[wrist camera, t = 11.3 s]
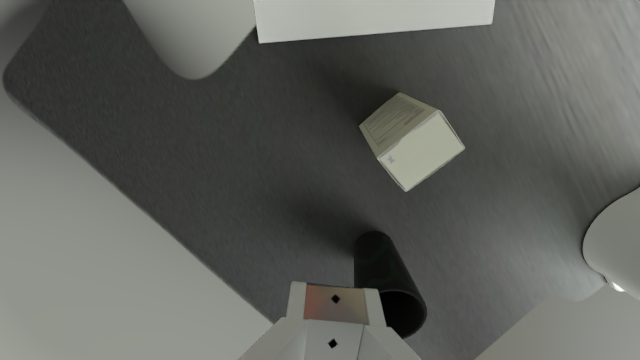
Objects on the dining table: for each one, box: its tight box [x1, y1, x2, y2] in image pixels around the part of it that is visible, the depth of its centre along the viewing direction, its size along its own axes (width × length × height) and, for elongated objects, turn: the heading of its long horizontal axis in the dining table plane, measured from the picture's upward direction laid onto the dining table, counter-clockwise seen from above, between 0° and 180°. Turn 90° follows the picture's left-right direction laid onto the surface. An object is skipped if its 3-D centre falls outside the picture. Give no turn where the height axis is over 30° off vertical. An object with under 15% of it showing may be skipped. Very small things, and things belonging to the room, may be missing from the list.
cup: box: [354, 232, 427, 339], centre depth 38 cm, size 8×8×12 cm
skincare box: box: [359, 92, 465, 191], centre depth 30 cm, size 6×4×12 cm
